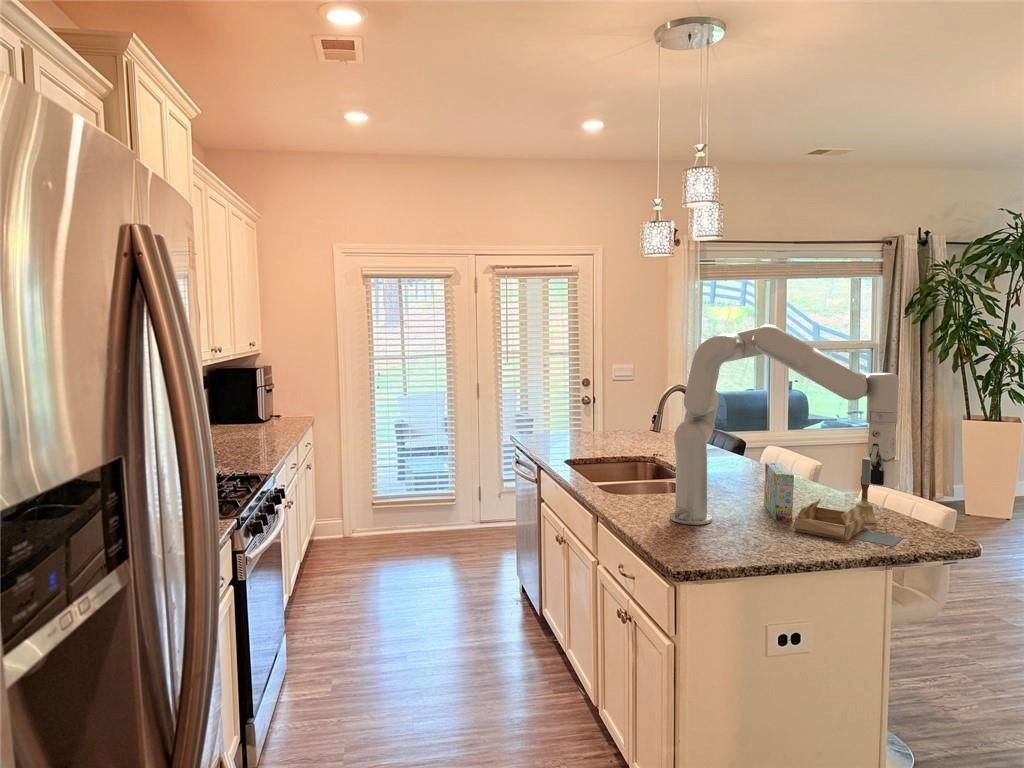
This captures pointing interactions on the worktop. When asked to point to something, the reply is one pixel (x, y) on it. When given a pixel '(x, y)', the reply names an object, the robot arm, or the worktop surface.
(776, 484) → the snack box
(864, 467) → the white box
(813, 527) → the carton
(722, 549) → the worktop surface
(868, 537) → the slate mat
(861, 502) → the hand bell
